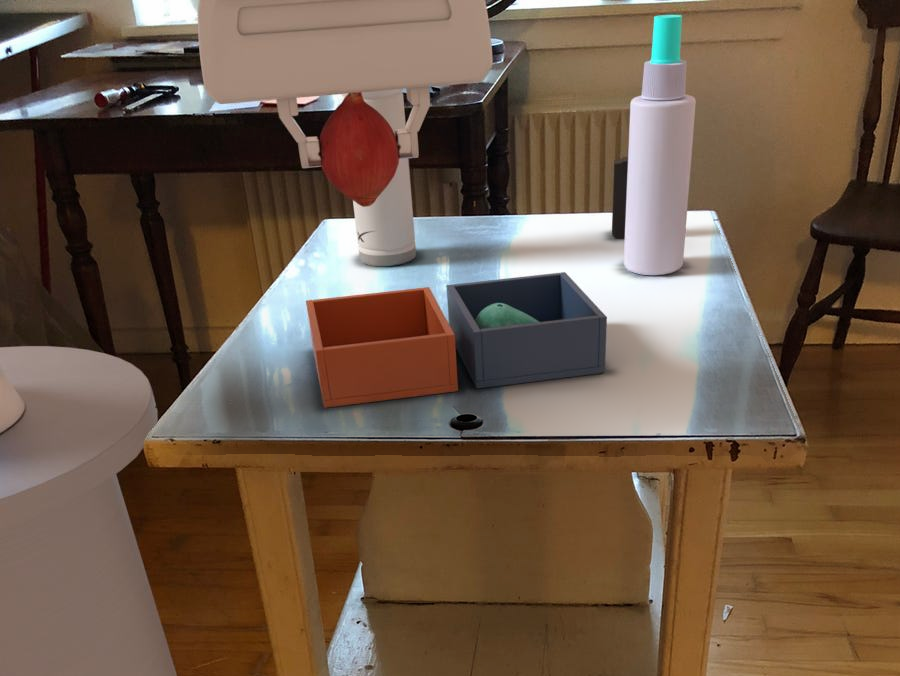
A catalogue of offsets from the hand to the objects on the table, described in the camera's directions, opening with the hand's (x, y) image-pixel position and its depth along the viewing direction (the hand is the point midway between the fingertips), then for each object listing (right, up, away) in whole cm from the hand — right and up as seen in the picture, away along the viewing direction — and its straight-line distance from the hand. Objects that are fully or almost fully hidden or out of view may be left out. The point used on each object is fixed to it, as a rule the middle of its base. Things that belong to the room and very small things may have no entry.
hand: (359, 161), depth 72 cm
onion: (0, -3, +2) cm, 3 cm away
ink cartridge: (+26, +10, +38) cm, 48 cm away
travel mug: (-1, +7, +35) cm, 36 cm away
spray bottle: (+27, +3, +29) cm, 39 cm away
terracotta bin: (+1, -13, +10) cm, 16 cm away
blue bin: (+13, -11, +11) cm, 20 cm away
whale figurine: (+12, -11, +11) cm, 19 cm away
